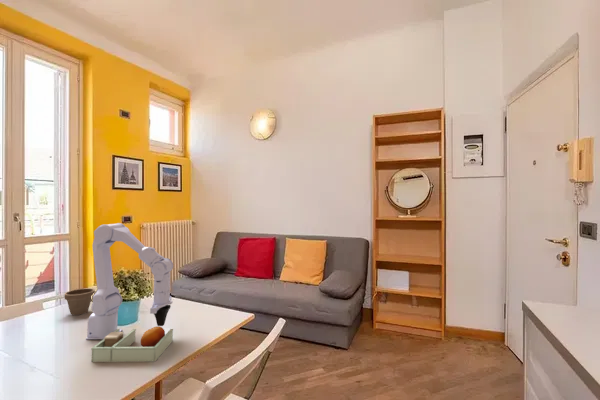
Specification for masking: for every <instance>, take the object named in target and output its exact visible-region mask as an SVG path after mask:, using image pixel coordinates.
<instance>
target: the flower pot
mask: <svg viewBox="0 0 600 400" xmlns="http://www.w3.org/2000/svg"><path fill="white" fill-rule="evenodd" d="M93 293H94V294H95V293H96V291H95V289H94V288H89V287H88V288H78V289H73V290H69V291H67V292H65V293H64V300H66V302H67V305H68V310H69V314H70V315H73V316H77V315H78V316H79V315H83V314H86V313H88V311H89V309H90V305H91V303H92V299H91V295H92V294H93Z"/></svg>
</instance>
